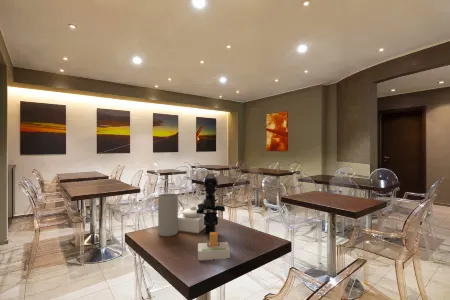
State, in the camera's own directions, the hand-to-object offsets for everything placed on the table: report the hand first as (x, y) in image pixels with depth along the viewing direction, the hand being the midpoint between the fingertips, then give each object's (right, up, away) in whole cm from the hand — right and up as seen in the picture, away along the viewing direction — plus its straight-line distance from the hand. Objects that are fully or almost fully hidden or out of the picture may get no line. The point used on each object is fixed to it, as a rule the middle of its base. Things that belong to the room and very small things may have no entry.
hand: (210, 225), depth 137 cm
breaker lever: (+2, -7, -11) cm, 13 cm away
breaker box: (+2, -12, -12) cm, 17 cm away
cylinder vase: (-29, -12, +19) cm, 37 cm away
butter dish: (-15, -12, +31) cm, 36 cm away
